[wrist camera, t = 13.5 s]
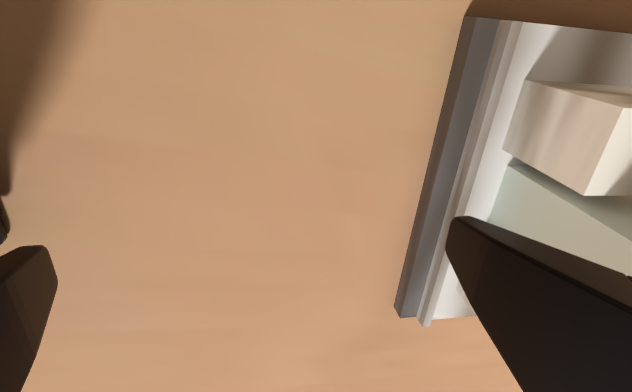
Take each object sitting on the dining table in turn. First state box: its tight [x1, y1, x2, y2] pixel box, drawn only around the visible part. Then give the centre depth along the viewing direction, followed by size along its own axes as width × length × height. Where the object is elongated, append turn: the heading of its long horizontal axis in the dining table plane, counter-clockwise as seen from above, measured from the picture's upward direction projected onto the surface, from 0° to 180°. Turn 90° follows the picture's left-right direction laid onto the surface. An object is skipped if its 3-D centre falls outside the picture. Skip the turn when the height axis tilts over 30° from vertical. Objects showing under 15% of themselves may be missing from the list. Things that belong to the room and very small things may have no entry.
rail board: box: [394, 16, 632, 327], centre depth 23 cm, size 14×20×8 cm
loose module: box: [488, 165, 632, 276], centre depth 20 cm, size 6×4×11 cm
